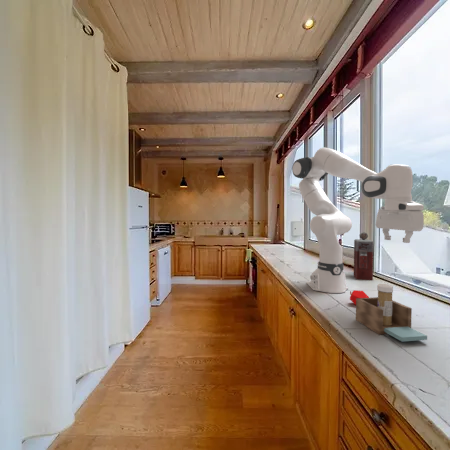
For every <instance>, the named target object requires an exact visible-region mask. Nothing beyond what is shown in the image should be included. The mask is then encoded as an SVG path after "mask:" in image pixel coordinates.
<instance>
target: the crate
mask: <svg viewBox="0 0 450 450" xmlns="http://www.w3.org/2000/svg"><path fill="white" fill-rule="evenodd" d="M377 306H378V296H376V297H369V298H356V305H355V321H357V322H358V323H360V324H362V325H363V326H365V327H367V328H368V329H370V330H371V331H373V332H374V333H376V334H377V335H388V334H387V333H386V332H384V328H392V327H407V326H408V327H410V328H412V310H413V309H412V308H411V307H410V306H407V305H405V304H402V303H400V302H397V301H395V300H393V299H392V325H390V326H384V325H383V310H382V309H380V308H378V307H377Z"/></svg>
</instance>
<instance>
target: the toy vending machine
mask: <svg viewBox="0 0 450 450" xmlns="http://www.w3.org/2000/svg"><path fill="white" fill-rule="evenodd" d="M358 236H359V238H360V239H358V238H357V239H354V240H353V278H354V279H355V280H358V281H359V280H360V281H363V280H364V281H374V241H373V240H372V239H368V237H369V235H368V233H366V232H363V231H362V232H360V234H359V235H358Z"/></svg>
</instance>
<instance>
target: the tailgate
mask: <svg viewBox="0 0 450 450" xmlns="http://www.w3.org/2000/svg"><path fill="white" fill-rule="evenodd" d="M384 332H386V333H387V334H386V335H390V336H391V337H393V338H395V339H396V340H398V341H400V342H415V341H427V340H428V335H427V334H424V333H422V332H421V331H419V330H416V329H414V328H412V327H411V328H410V327H408V326H407V327H392V328H384Z"/></svg>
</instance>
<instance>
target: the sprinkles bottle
mask: <svg viewBox="0 0 450 450" xmlns="http://www.w3.org/2000/svg"><path fill="white" fill-rule="evenodd" d="M393 293H394V286H393V285H391V284H389V283H377V297H378V306H377V307H378V308H380V309H382V310H383V325H384V326H390V325H392V300H393Z"/></svg>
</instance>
